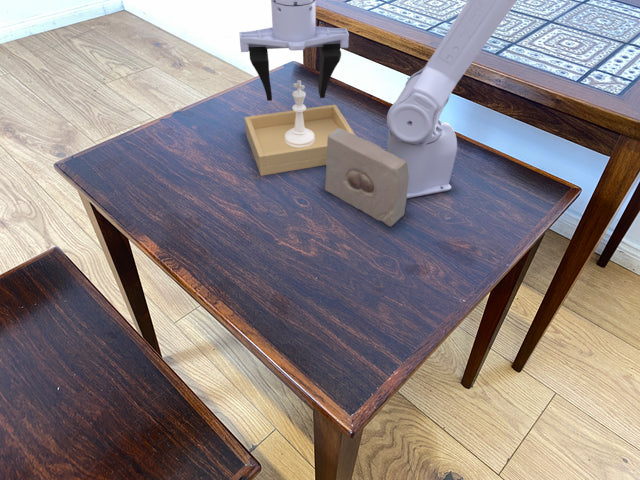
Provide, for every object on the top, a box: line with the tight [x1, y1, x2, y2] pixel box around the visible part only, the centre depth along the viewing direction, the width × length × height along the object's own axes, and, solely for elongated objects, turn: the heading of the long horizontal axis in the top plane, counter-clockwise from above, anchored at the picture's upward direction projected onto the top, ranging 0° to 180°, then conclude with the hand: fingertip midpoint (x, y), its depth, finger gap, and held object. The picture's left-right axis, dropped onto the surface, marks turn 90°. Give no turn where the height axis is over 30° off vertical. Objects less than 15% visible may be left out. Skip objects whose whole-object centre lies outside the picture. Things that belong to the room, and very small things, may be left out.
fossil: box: [324, 128, 409, 228], centre depth 68 cm, size 12×4×10 cm, turn 49°
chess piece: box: [284, 79, 315, 148], centre depth 77 cm, size 5×5×10 cm
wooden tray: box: [244, 104, 356, 177], centre depth 80 cm, size 16×12×4 cm
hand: (295, 96), depth 73 cm, fingers open, 7 cm apart
